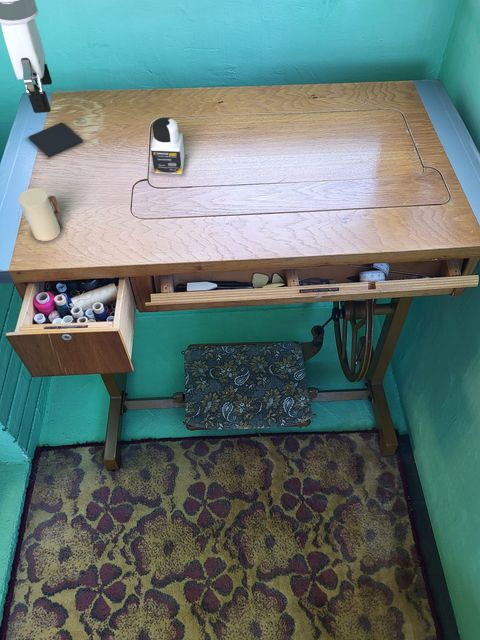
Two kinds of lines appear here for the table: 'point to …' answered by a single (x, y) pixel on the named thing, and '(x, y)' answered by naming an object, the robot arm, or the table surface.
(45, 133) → the rubber mat
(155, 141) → the medicine bottle
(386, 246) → the table surface
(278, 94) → the table surface
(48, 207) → the cream cylinder canister
